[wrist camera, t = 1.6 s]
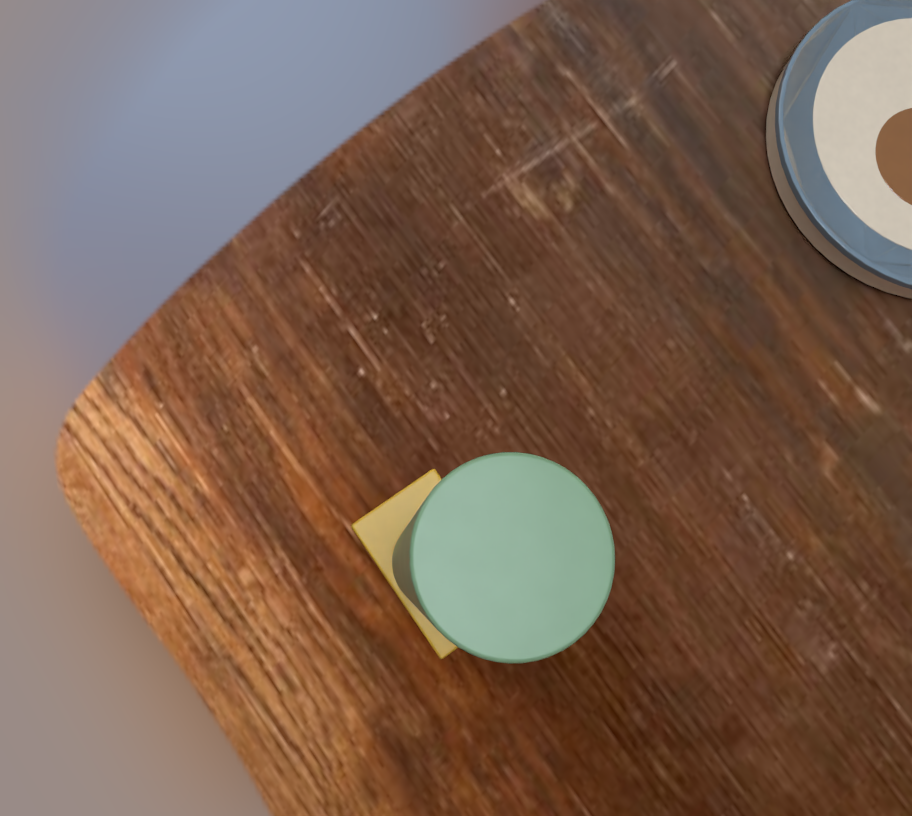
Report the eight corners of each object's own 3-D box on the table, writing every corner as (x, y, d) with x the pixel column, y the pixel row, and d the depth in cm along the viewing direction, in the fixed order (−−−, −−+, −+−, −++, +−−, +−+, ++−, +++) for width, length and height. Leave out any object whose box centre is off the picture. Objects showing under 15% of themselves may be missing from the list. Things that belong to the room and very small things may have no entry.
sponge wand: (352, 529, 32) (312, 471, 13) (429, 476, 33) (502, 344, 13) (435, 651, 32) (526, 787, 12) (512, 595, 32) (713, 639, 13)
